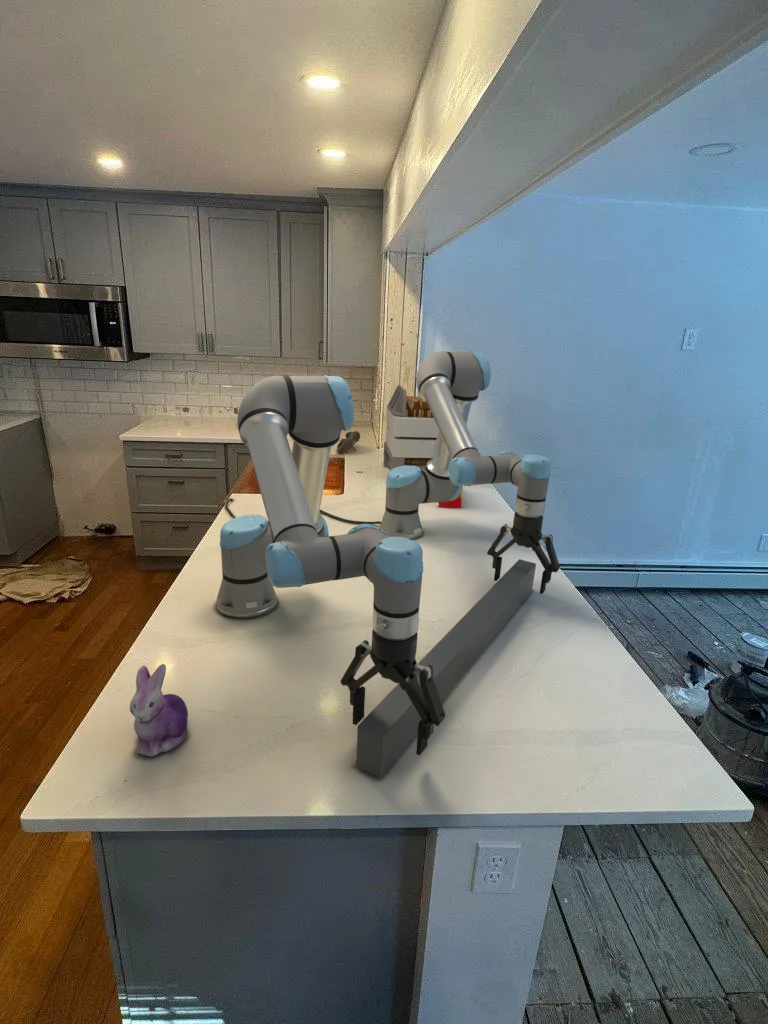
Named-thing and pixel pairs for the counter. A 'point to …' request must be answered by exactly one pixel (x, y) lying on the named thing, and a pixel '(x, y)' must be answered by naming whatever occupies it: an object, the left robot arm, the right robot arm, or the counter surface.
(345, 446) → the fossil
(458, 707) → the counter surface
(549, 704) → the counter surface
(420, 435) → the grey bottle crate
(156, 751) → the figurine
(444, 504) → the toy
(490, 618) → the beam
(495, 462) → the right robot arm
